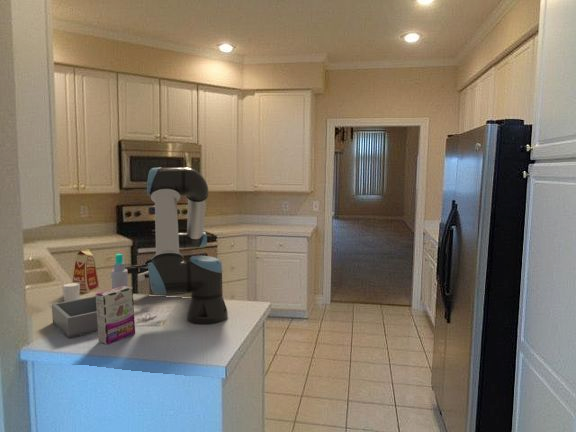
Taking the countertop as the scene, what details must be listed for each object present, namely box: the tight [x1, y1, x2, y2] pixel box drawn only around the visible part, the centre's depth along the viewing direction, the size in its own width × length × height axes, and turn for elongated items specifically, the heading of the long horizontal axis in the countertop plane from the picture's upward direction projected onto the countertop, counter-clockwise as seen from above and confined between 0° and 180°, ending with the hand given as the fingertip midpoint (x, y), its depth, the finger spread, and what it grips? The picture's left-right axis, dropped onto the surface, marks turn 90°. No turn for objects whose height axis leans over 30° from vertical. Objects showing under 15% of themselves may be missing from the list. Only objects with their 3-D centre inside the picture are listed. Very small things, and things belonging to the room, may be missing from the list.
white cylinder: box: [61, 282, 80, 302], centre depth 184 cm, size 7×7×7 cm
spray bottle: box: [111, 253, 129, 289], centre depth 173 cm, size 6×6×22 cm
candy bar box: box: [95, 285, 136, 345], centre depth 142 cm, size 11×5×16 cm, turn 148°
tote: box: [51, 295, 98, 340], centre depth 154 cm, size 20×16×7 cm
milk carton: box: [71, 248, 100, 294], centre depth 200 cm, size 9×9×20 cm
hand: (125, 276), depth 177 cm, fingers open, 13 cm apart
